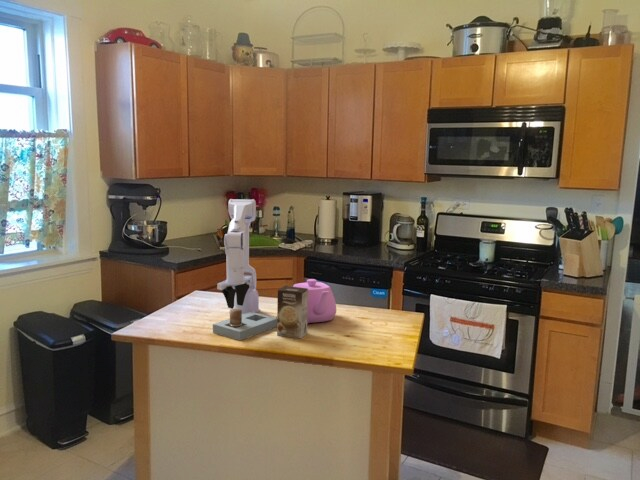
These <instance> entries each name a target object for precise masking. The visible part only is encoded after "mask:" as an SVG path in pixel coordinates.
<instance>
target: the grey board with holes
mask: <svg viewBox="0 0 640 480" xmlns="http://www.w3.org/2000/svg"><path fill="white" fill-rule="evenodd" d="M274 328H277V317H274V316H271V315H267V314H263V313H258V312H249V313H246V314H242V325H241V327H238V328H233V327H230V318H226V319H224V320H221V321H218V322H214V323H212V333H214V334H216V335H219V336H224V337H226V338H231V339H234V340H237V341H242V340H245V339H248V338H251V337H254V336H255V335H258V334H261V333H264V332H267V331H269V330H272V329H274Z"/></svg>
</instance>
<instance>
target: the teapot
mask: <svg viewBox="0 0 640 480" xmlns="http://www.w3.org/2000/svg"><path fill="white" fill-rule="evenodd" d="M292 287H299V288H307V289H308V307H307V325H308V324H311V323H320V322H323V323H325V322H328V321H330V320H333V319H334V318H335V316H336V314H337V303H336V299H335V296H334V293H333V291H332V288H331V287H330V286H329V285H328V284H326V283H324V282H320V281H317V279H315V278H309V279H306V281H305V282H300V283H299V282H298V283H295V284H293V286H292Z"/></svg>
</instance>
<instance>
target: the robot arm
mask: <svg viewBox="0 0 640 480" xmlns="http://www.w3.org/2000/svg"><path fill="white" fill-rule="evenodd" d="M227 211H228V215H229V218H230V219H231V221H230V222H229V225H228V229H227V233H225V234H224V237H223V244H224V253H225V255H226V257H225V258H226V263H225V264H226V265H225V266H226V279H225V280H223V281H221V282H218V283H217V284H216V285H217V286H216V288H217V290H219V291H220V292H222V294H223V296H224V298H225V302H226V305H227V308H229V309H230V310H231V309H241V310H242V314H246V313H249V312H255V313H258V312H261V309H259V308H260V307H259V303H260V301H259V298H260V297H259V296H260V295H259V292H258V290H257V271H256V268H254V267H253V266H252V265H250V226H251V224H252V222H255V221H256V214H257V213H256V211H257V202H256V200H255V199H254V198H253V199H243V198H242V199H238V198H237V199H233V198H230V199H229V200H228V210H227ZM230 310H229V311H228V312H229V314H230Z"/></svg>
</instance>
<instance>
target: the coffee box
mask: <svg viewBox="0 0 640 480" xmlns="http://www.w3.org/2000/svg"><path fill="white" fill-rule="evenodd" d="M276 303H277V307H276V309H277V311H276V312H277V314H276V315H277V317H276V318H277V327H276V328H277V329H276V336H281V337H288V338H295V339H303V337H304V336H306V335H307V334H308V324H307V307H308V289H307V288H299V287H293V286H291V285H290V286H289V285H284V286H281V287H280V288H279V289H278V290H277V302H276Z"/></svg>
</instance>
